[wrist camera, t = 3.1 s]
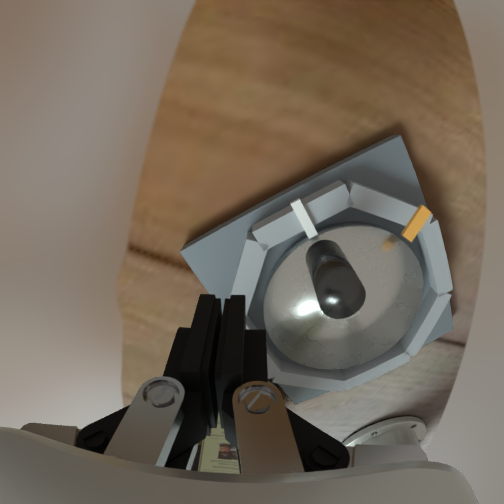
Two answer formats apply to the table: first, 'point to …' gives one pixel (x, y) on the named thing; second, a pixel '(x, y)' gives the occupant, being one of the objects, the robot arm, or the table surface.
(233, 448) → the coffee can
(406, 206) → the panel
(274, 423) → the robot arm
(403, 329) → the dial
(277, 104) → the table surface
